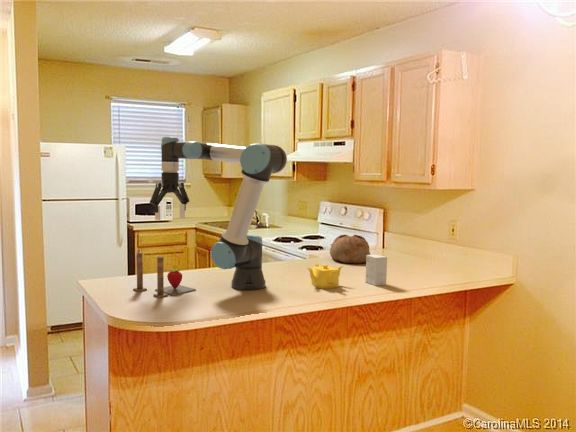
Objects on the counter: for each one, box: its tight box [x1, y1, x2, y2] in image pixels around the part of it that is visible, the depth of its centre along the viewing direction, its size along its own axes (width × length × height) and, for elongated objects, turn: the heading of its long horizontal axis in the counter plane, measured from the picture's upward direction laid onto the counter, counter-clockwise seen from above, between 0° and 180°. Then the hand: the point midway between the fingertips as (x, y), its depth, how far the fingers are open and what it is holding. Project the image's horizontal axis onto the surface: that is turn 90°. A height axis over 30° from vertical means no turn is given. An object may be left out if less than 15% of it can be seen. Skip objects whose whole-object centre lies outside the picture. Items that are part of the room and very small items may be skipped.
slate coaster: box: [154, 284, 197, 296], centre depth 212 cm, size 12×12×1 cm
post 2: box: [152, 256, 169, 299], centre depth 202 cm, size 4×4×16 cm
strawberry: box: [166, 267, 183, 289], centre depth 212 cm, size 6×8×10 cm
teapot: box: [306, 262, 344, 290], centre depth 227 cm, size 15×14×10 cm
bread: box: [329, 234, 371, 265], centre depth 291 cm, size 26×23×15 cm
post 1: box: [132, 252, 148, 293], centre depth 210 cm, size 4×4×16 cm
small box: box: [365, 254, 388, 287], centre depth 233 cm, size 8×6×13 cm
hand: (170, 219), depth 226 cm, fingers open, 13 cm apart
